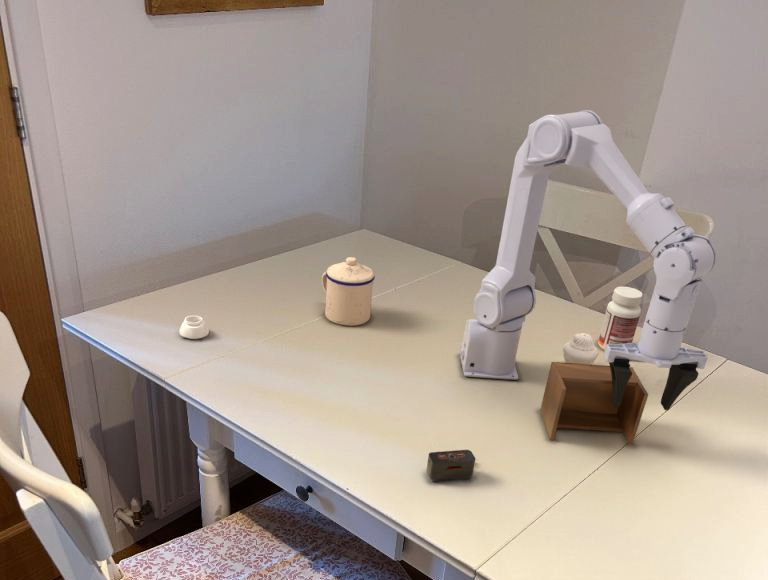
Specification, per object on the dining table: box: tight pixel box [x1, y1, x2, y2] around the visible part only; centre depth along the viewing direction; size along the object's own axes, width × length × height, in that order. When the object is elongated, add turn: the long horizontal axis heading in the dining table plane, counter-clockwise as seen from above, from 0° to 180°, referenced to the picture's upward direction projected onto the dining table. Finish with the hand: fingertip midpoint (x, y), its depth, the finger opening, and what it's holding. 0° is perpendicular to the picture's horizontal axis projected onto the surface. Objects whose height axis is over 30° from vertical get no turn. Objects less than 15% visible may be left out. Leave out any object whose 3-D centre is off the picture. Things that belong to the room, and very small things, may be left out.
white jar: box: [179, 315, 210, 340], centre depth 138 cm, size 5×3×5 cm
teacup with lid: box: [321, 256, 376, 327], centre depth 148 cm, size 12×9×12 cm
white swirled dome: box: [562, 332, 599, 365], centre depth 139 cm, size 6×6×7 cm
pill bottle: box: [597, 286, 643, 351], centre depth 147 cm, size 6×6×11 cm
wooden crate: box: [539, 361, 649, 446], centre depth 122 cm, size 9×13×8 cm
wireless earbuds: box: [425, 449, 476, 482], centre depth 111 cm, size 5×7×3 cm, turn 105°
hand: (640, 405), depth 119 cm, fingers open, 7 cm apart
